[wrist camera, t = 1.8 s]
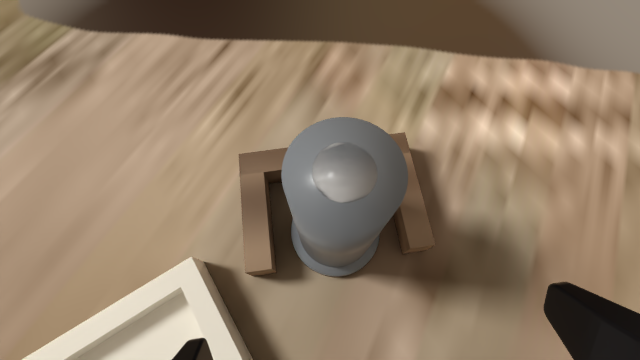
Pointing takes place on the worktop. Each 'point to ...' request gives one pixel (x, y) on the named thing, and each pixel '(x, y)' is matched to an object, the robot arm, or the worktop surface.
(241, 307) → the worktop surface
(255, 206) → the socket
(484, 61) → the worktop surface
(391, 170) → the grey rounded upright piece
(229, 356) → the dish
